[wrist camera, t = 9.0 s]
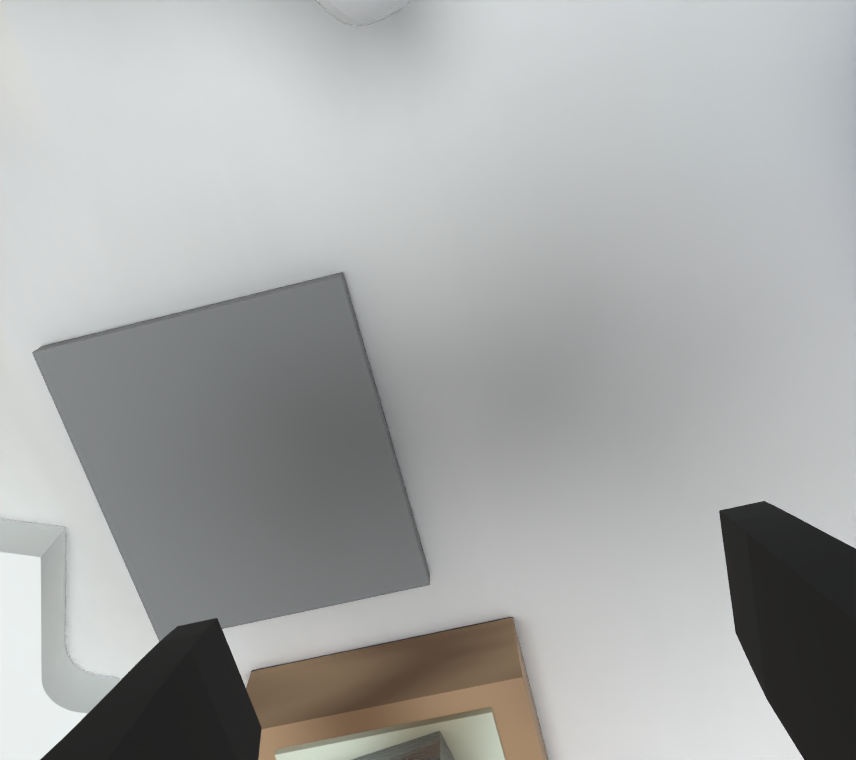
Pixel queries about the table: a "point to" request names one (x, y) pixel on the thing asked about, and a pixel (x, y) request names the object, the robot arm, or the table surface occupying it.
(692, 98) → the table surface
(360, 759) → the block
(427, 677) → the stand
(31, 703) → the mounting plate
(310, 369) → the mat
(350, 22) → the mug
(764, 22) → the table surface
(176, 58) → the table surface
